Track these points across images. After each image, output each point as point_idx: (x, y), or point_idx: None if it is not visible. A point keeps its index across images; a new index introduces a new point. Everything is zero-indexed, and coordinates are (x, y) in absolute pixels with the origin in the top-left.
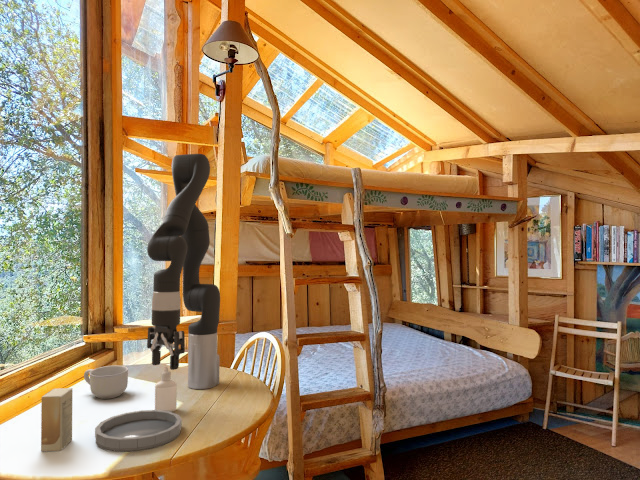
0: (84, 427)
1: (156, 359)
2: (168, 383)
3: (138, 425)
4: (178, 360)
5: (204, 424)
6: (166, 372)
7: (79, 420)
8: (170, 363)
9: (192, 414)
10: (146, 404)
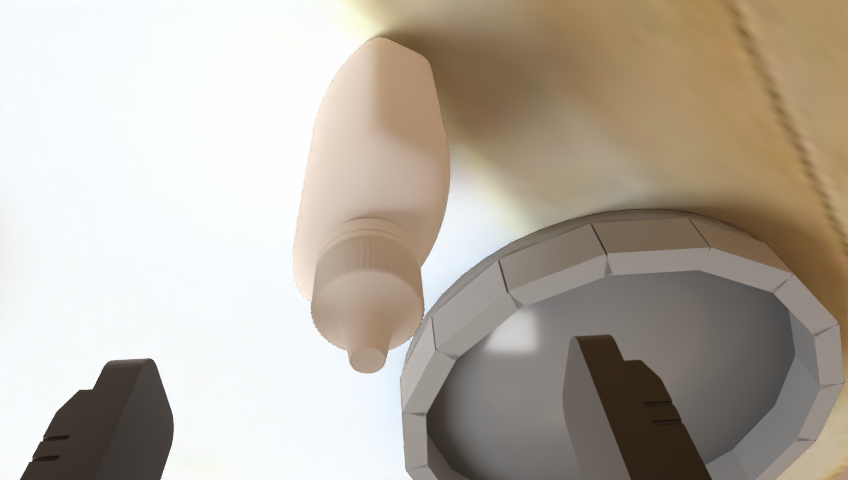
0: (290, 476)
1: (139, 459)
2: (430, 246)
3: (523, 364)
4: (690, 443)
5: (830, 84)
6: (406, 331)
7: (166, 465)
8: (589, 474)
9: (606, 17)
10: (98, 128)
